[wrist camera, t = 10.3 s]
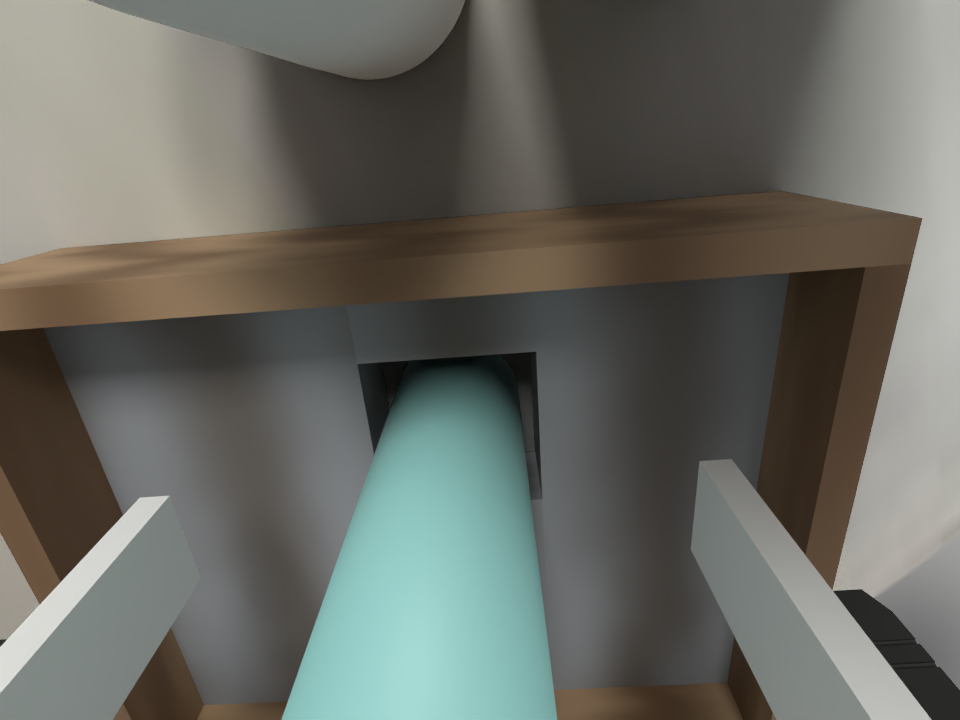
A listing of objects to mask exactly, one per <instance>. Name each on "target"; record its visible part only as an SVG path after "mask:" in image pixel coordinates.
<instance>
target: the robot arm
mask: <svg viewBox="0 0 960 720" xmlns="http://www.w3.org/2000/svg"><path fill="white" fill-rule="evenodd" d="M691 551H692V553H693V555H694V557H695V559H696V561H697V563H698V565H699V567H700V569H701V571H702V573H703V575H704V577H705V579H706V581H707V583H708V585H709V587H710V589H711V591H712V593H713V595H714V597H715V599H716V601H717V603H718V605H719V607H720V609H721V611H722V613H723V615H724V617H725V619H726V620H727V622H728V624H729V626H730V628H731V630H732V632H733V634H734V636H735V638H736V640H737V642H738V644H739V646H740V648H741V650H742V652H743V654H744V656H745V658H746V660H747V662H748V664H749V666H750V668H751V670H752V672H753V674H754V676H755V678H756V680H757V682H758V684H759V686H760V688H761V690H762V692H763V694H764V696H765V698H766V700H767V702H768V704H769V706H770V708H771V710H772V712H773V714H774V716H775V718H776V720H960V690H959V689H958V688H957V687H956V686H955V684H954V683H953V682H952V681H951V680H950V678H949V677H948V676H947V675H946V674H945V673H944V671H943V670H942V669H941V668H940V667H937V666H936V665H935V661H934V660H933V659H932V658H931V656H930V655H929V654H928V653H927V652H926V651H925V649H924V648H923V647H922V646H921V645H920V644H917V643H916V641H915V638H914V637H913V635H912V634H911V633H910V632H909V631H908V630H907V629H906V627H905V626H904V625H903V624H902V623H901V621H900V620H899V619H898V618H897V617H896V616H895V614H894V613H893V612H892V611H891V610H889V609H888V608H886V607H885V606H884V605H882V604H881V603H879V602H878V601H877V600H875V599H874V598H873V597H871V596H870V595H868V594H867V593H866V592H864V591H863V590H861V589H860V590H843V591H832V589H831V588H830V587H829V585H828V584H827V583H826V581H825V580H824V579H823V578H822V576H821V575H820V574H819V572H818V571H817V570H816V568H815V567H814V566H813V565H812V563H811V562H810V561H809V559H808V558H807V557H806V555H805V554H804V553H803V551H802V550H801V549H800V548H799V546H798V545H797V544H796V542H795V541H794V540H793V538H792V537H791V536H790V535H789V533H788V532H787V531H786V529H785V528H784V527H783V525H782V524H781V523H780V522H779V520H778V519H777V518H776V516H775V515H774V514H773V512H772V511H771V510H770V508H769V507H768V506H767V505H766V503H765V502H764V501H763V499H762V498H761V497H760V495H759V494H758V493H757V492H756V490H755V489H754V488H753V486H752V485H751V484H750V482H749V481H748V480H747V479H746V477H745V476H744V475H743V473H742V472H741V471H740V469H739V468H738V467H737V465H736V464H735V463H734V462H733V460H732V459H723V460H708V461H699V471H698V481H697V491H696V501H695V511H694V521H693V531H692V541H691ZM200 580H201V577H200V574H199V571H198V569H197V566H196V563H195V561H194V558H193V556H192V553H191V550H190V548H189V545H188V542H187V540H186V537H185V534H184V532H183V529H182V527H181V524H180V521H179V519H178V516H177V513H176V511H175V508H174V506H173V503H172V500H171V498H170V496H156V497H141V498H139V499H138V500H137V501H136V502H135V503H134V504H133V505H132V507H131V508H130V509H129V510H128V511H127V512H126V513H125V514H124V515H123V516H122V517H121V518H120V519H119V520H118V521H117V523H116V524H115V525H114V526H113V527H112V528H111V529H110V530H109V531H108V532H107V533H106V534H105V535H104V536H103V538H102V539H101V540H100V541H99V542H98V543H97V544H96V545H95V546H94V547H93V548H92V549H91V550H90V551H89V553H88V554H87V555H86V556H85V557H84V558H83V559H82V560H81V561H80V562H79V563H78V564H77V565H76V566H75V568H74V569H73V570H72V571H71V572H70V573H69V574H68V575H67V576H66V577H65V578H64V579H63V580H62V581H61V583H60V584H59V585H58V586H57V587H56V588H55V589H54V590H53V591H52V592H51V593H50V594H49V595H48V596H47V598H46V599H45V600H44V601H43V602H42V603H41V604H40V605H39V606H38V607H37V608H36V609H35V610H34V611H33V612H32V614H31V615H30V616H29V617H28V618H27V619H26V620H25V621H24V622H23V623H22V624H21V625H20V626H19V627H18V629H17V630H16V631H15V632H14V633H13V634H12V635H11V636H10V637H9V638H8V639H7V640H0V720H113V719H114V717H115V715H116V714H117V712H118V711H119V709H120V707H121V706H122V704H123V703H124V701H125V699H126V698H127V696H128V695H129V693H130V691H131V690H132V688H133V687H134V685H135V684H136V682H137V680H138V679H139V677H140V676H141V674H142V672H143V671H144V669H145V668H146V666H147V664H148V663H149V661H150V660H151V658H152V656H153V655H154V653H155V652H156V650H157V648H158V647H159V645H160V644H161V642H162V640H163V639H164V637H165V636H166V634H167V632H168V631H169V629H170V628H171V626H172V624H173V623H174V621H175V620H176V618H177V617H178V615H179V613H180V612H181V610H182V609H183V607H184V605H185V604H186V602H187V601H188V599H189V597H190V596H191V594H192V593H193V591H194V589H195V588H196V586H197V585H198V583H199V581H200Z"/></svg>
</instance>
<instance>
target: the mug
mask: <svg viewBox="0 0 960 720" xmlns="http://www.w3.org/2000/svg"><path fill="white" fill-rule="evenodd" d="M89 1H92V2H95V3H97V4H100V5H103V6H106V7H109V8H111V9H114V10H117V11H121V12H124V13H127V14H130V15H133V16H136V17H140V18H143V19H146V20H150V21H153V22H157V23H160V24H164V25H167V26H170V27H174V28H177V29H181V30H184V31H188V32H191V33H195V34H198V35H201V36H205V37H208V38H212V39H215V40H219V41H222V42H226V43H229V44H232V45H236V46H239V47H243V48H246V49H250V50H253V51H256V52H260V53H263V54H267V55H270V56H273V57H277V58H280V59H283V60H286V61H290V62H293V63H296V64H299V65H302V66H306V67H309V68H313V69H317V70H322V71H326V72H330V73H333V74H337V75H340V76H344V77H348V78H354V79H365V80H372V79H382V78H388V77H392V76H396V75H399V74H401V73H404V72H406V71H408V70H410V69H412V68H414V67H416V66H417V65H419V64H420V63H422V62H423V61H424V60H426V59H427V58H428V57H429V56H431V55H432V54H433V53H434V52H435V51H436V50H437V49H438V48H439V47H440V45H441V44H442V43H443V42H444V40H445V39H446V38H447V36H448V35H449V34H450V32H451V30H452V29H453V27H454V25H455V24H456V22H457V20H458V18H459V15H460V13H461V11H462V8H463V5H464V3H465V0H89Z"/></svg>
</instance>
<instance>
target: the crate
mask: <svg viewBox="0 0 960 720" xmlns="http://www.w3.org/2000/svg"><path fill="white" fill-rule="evenodd" d="M921 221H922V218H918V217H913V216H908V215H903V214H898V213H893V212H888V211H882V210H877V209H872V208H867V207H862V206H857V205H851V204H846V203H841V202H836V201H831V200H826V199H821V198H815V197H810V196H805V195H800V194H795V193H790V192H784V191H772V192H760V193H747V194H735V195H722V196H710V197H697V198H685V199H672V200H660V201H647V202H635V203H622V204H610V205H597V206H585V207H572V208H560V209H547V210H535V211H522V212H510V213H497V214H485V215H472V216H460V217H448V218H435V219H423V220H410V221H398V222H385V223H373V224H360V225H348V226H335V227H323V228H310V229H298V230H285V231H273V232H260V233H248V234H235V235H223V236H210V237H198V238H185V239H173V240H160V241H148V242H135V243H123V244H110V245H98V246H85V247H73V248H61V249H57V250H53V251H49V252H46V253H42V254H38V255H35V256H31V257H27V258H23V259H20V260H16V261H12V262H9V263H5V264H1V265H0V533H1V534H2V536H3V538H4V540H5V542H6V544H7V545H8V547H9V549H10V551H11V553H12V555H13V556H14V558H15V560H16V562H17V564H18V565H19V567H20V569H21V571H22V573H23V575H24V576H25V578H26V580H27V582H28V584H29V586H30V587H31V589H32V591H33V593H34V595H35V596H36V598H37V600H38V602H39V604H41V603H42V602H43V601H44V600H45V599H46V598H47V596H48V595H49V594H50V593H51V592H52V591H53V590H54V589H55V588H56V587H57V586H58V585H59V584H60V583H61V581H62V580H63V579H64V578H65V577H66V576H67V575H68V574H69V573H70V572H71V571H72V570H73V569H74V568H75V566H76V565H77V564H78V563H79V562H80V561H81V560H82V559H83V558H84V557H85V556H86V555H87V554H88V553H89V551H90V550H91V549H92V548H93V547H94V546H95V545H96V544H97V543H98V542H99V541H100V540H101V539H102V538H103V536H104V535H105V534H106V533H107V532H108V531H109V530H110V529H111V528H112V527H113V526H114V525H115V524H116V523H117V521H118V520H119V519H120V518H121V517H122V516H123V515H124V514H125V513H126V512H127V511H128V510H129V509H130V508H131V507H132V505H133V504H134V503H135V502H136V501H137V500H138V499H139V498H141V497H156V496H170V498H171V500H172V503H173V506H174V508H175V511H176V513H177V516H178V519H179V521H180V524H181V527H182V529H183V532H184V534H185V537H186V540H187V542H188V545H189V548H190V550H191V553H192V556H193V558H194V561H195V563H196V566H197V569H198V571H199V574H200V577H201V580H200V581H199V583H198V585H197V586H196V588H195V589H194V591H193V593H192V594H191V596H190V597H189V599H188V601H187V602H186V604H185V605H184V607H183V609H182V610H181V612H180V613H179V615H178V617H177V618H176V620H175V621H174V623H173V624H172V626H171V628H170V629H169V631H168V632H167V634H166V636H165V637H164V639H163V640H162V642H161V644H160V645H159V647H158V648H157V650H156V652H155V653H154V655H153V656H152V658H151V660H150V661H149V663H148V664H147V666H146V668H145V669H144V671H143V672H142V674H141V676H140V677H139V679H138V680H137V682H136V684H135V685H134V687H133V688H132V690H131V691H130V693H129V695H128V696H127V698H126V699H125V701H124V703H123V704H122V706H121V707H120V709H119V711H118V712H117V714H116V715H115V717H114V719H113V720H282V717H283V714H284V711H285V708H286V705H287V702H288V699H289V697H290V694H291V691H292V688H293V685H294V682H295V679H296V677H297V674H298V671H299V668H300V665H301V662H302V659H303V657H304V654H305V651H306V648H307V645H308V642H309V639H310V637H311V634H312V631H313V628H314V625H315V622H316V619H317V617H318V614H319V611H320V608H321V605H322V602H323V599H324V597H325V594H326V591H327V588H328V585H329V582H330V579H331V577H332V574H333V571H334V568H335V565H336V562H337V559H338V557H339V554H340V551H341V548H342V545H343V542H344V539H345V537H346V534H347V531H348V528H349V525H350V522H351V519H352V517H353V514H354V511H355V508H356V505H357V502H358V499H359V496H360V494H361V491H362V488H363V485H364V482H365V479H366V476H367V474H368V471H369V468H370V465H371V462H372V459H373V456H374V454H375V451H376V448H377V445H378V442H379V439H380V436H381V434H382V431H383V428H384V425H385V422H386V419H387V416H388V414H389V406H388V400H387V394H386V388H385V382H384V376H383V370H382V364H381V362H394V361H409V360H423V359H438V358H452V357H467V356H481V355H495V354H510V353H524V352H530V353H531V375H532V397H533V419H534V441H535V451H531V452H525V456H526V464H527V472H528V481H529V489H530V497H531V505H532V514H533V522H534V530H535V538H536V547H537V555H538V563H539V572H540V580H541V588H542V596H543V605H544V613H545V621H546V629H547V638H548V646H549V654H550V662H551V671H552V679H553V687H554V696H555V704H556V712H557V720H776V718H775V716H774V714H773V712H772V710H771V708H770V706H769V704H768V702H767V700H766V698H765V696H764V694H763V692H762V690H761V688H760V686H759V684H758V682H757V680H756V678H755V676H754V674H753V672H752V670H751V668H750V666H749V664H748V662H747V660H746V658H745V656H744V654H743V652H742V650H741V648H740V646H739V644H738V642H737V640H736V638H735V636H734V634H733V632H732V630H731V628H730V626H729V624H728V622H727V620H726V619H725V617H724V615H723V613H722V611H721V609H720V607H719V605H718V603H717V601H716V599H715V597H714V595H713V593H712V591H711V589H710V587H709V585H708V583H707V581H706V579H705V577H704V575H703V573H702V571H701V569H700V567H699V565H698V563H697V561H696V559H695V557H694V555H693V553H692V551H691V541H692V531H693V521H694V511H695V501H696V491H697V481H698V471H699V461H708V460H723V459H732V460H733V462H734V463H735V464H736V465H737V467H738V468H739V469H740V471H741V472H742V473H743V475H744V476H745V477H746V479H747V480H748V481H749V482H750V484H751V485H752V486H753V488H754V489H755V490H756V492H757V493H758V494H759V495H760V497H761V498H762V499H763V501H764V502H765V503H766V505H767V506H768V507H769V508H770V510H771V511H772V512H773V514H774V515H775V516H776V518H777V519H778V520H779V522H780V523H781V524H782V525H783V527H784V528H785V529H786V531H787V532H788V533H789V535H790V536H791V537H792V538H793V540H794V541H795V542H796V544H797V545H798V546H799V548H800V549H801V550H802V551H803V553H804V554H805V555H806V557H807V558H808V559H809V561H810V562H811V563H812V565H813V566H814V567H815V568H816V570H817V571H818V572H819V574H820V575H821V576H822V578H823V579H824V580H825V581H826V583H827V584H828V585H829V587H830V588H831V589H833V585H834V581H835V577H836V573H837V568H838V564H839V560H840V556H841V552H842V548H843V544H844V539H845V535H846V531H847V527H848V523H849V519H850V515H851V511H852V506H853V502H854V498H855V494H856V490H857V486H858V482H859V477H860V473H861V469H862V465H863V461H864V457H865V453H866V449H867V444H868V440H869V436H870V432H871V428H872V424H873V420H874V415H875V411H876V407H877V403H878V399H879V395H880V391H881V387H882V382H883V378H884V374H885V370H886V366H887V362H888V358H889V353H890V349H891V345H892V341H893V337H894V333H895V329H896V324H897V320H898V316H899V312H900V308H901V304H902V300H903V296H904V291H905V287H906V283H907V279H908V275H909V271H910V267H911V262H912V258H913V254H914V250H915V246H916V242H917V238H918V234H919V229H920V225H921Z"/></svg>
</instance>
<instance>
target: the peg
mask: <svg viewBox="0 0 960 720" xmlns="http://www.w3.org/2000/svg"><path fill="white" fill-rule="evenodd" d="M282 720H557V712H556V704H555V696H554V687H553V679H552V671H551V662H550V654H549V646H548V638H547V629H546V621H545V613H544V605H543V596H542V588H541V580H540V572H539V563H538V555H537V547H536V538H535V530H534V522H533V514H532V505H531V497H530V489H529V481H528V472H527V464H526V456H525V447H524V439H523V431H522V423H521V414H520V406H519V398H518V390H517V383H516V380H515V377H514V375H513V372H512V370H511V369H510V367H509V366H508V364H507V363H506V362H505V361H504V359H503V358H502V357H501V356H499V355H498V354H495V355H481V356H467V357H452V358H438V359H423V360H411V361H410V362H409V363H408V365H407V366H406V368H405V370H404V371H403V374H402V377H401V379H400V382H399V385H398V388H397V391H396V394H395V396H394V399H393V402H392V405H391V408H390V411H389V414H388V416H387V419H386V422H385V425H384V428H383V431H382V434H381V436H380V439H379V442H378V445H377V448H376V451H375V454H374V456H373V459H372V462H371V465H370V468H369V471H368V474H367V476H366V479H365V482H364V485H363V488H362V491H361V494H360V496H359V499H358V502H357V505H356V508H355V511H354V514H353V517H352V519H351V522H350V525H349V528H348V531H347V534H346V537H345V539H344V542H343V545H342V548H341V551H340V554H339V557H338V559H337V562H336V565H335V568H334V571H333V574H332V577H331V579H330V582H329V585H328V588H327V591H326V594H325V597H324V599H323V602H322V605H321V608H320V611H319V614H318V617H317V619H316V622H315V625H314V628H313V631H312V634H311V637H310V639H309V642H308V645H307V648H306V651H305V654H304V657H303V659H302V662H301V665H300V668H299V671H298V674H297V677H296V679H295V682H294V685H293V688H292V691H291V694H290V697H289V699H288V702H287V705H286V708H285V711H284V714H283V717H282Z"/></svg>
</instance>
